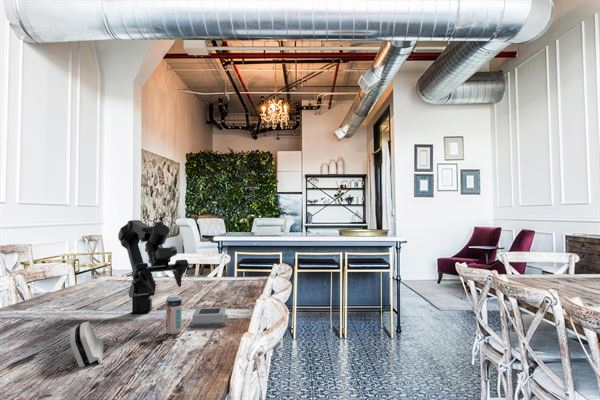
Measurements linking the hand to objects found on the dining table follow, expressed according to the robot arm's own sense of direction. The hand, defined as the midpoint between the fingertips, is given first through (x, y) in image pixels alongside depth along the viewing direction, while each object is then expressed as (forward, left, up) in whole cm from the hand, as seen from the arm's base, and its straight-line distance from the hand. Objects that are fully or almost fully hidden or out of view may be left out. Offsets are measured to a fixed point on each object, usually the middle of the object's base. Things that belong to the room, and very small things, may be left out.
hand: (167, 288), depth 131 cm
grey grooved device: (-16, -24, -14) cm, 32 cm away
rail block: (+14, +4, -13) cm, 20 cm away
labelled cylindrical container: (+4, -7, -14) cm, 16 cm away
